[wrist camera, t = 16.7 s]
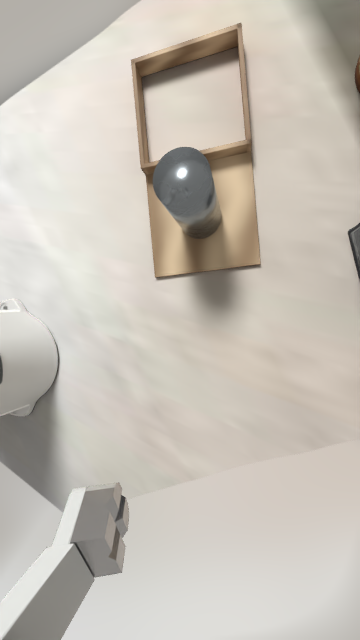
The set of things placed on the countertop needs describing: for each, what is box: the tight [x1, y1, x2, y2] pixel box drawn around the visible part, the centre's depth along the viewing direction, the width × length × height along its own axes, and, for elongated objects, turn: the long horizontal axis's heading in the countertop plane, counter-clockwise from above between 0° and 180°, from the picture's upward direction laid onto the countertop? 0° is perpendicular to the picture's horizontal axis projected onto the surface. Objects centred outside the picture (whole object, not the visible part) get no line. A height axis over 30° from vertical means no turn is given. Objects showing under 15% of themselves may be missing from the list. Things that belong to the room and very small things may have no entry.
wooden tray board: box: [131, 23, 260, 277], centre depth 34 cm, size 14×28×2 cm, turn 5°
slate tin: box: [153, 147, 221, 239], centre depth 30 cm, size 6×6×11 cm
